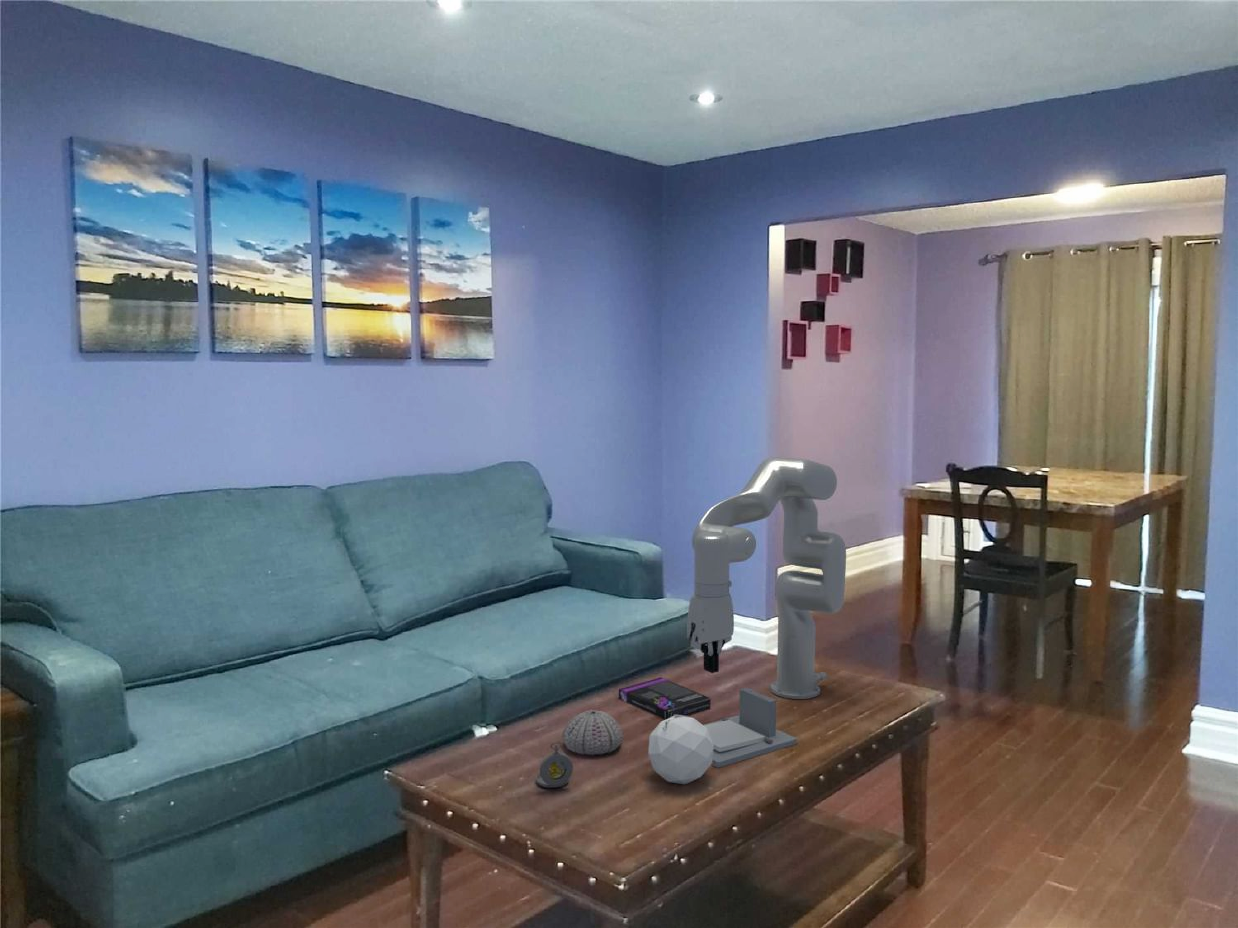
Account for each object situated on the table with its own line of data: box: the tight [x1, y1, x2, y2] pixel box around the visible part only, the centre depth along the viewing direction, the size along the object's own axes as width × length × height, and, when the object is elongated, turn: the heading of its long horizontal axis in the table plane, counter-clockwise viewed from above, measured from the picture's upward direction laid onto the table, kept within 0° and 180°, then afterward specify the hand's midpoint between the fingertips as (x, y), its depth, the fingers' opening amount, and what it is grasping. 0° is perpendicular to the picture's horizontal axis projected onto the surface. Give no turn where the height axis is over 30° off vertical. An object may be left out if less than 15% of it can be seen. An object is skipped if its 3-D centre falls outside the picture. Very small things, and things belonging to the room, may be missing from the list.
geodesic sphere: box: [647, 714, 714, 785], centre depth 193 cm, size 14×14×14 cm
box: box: [618, 676, 711, 720], centre depth 238 cm, size 14×4×20 cm
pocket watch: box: [535, 741, 574, 789], centre depth 191 cm, size 8×8×10 cm
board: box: [702, 687, 798, 769], centre depth 213 cm, size 23×18×9 cm
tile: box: [703, 720, 765, 752], centre depth 213 cm, size 13×12×1 cm
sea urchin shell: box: [561, 709, 624, 756], centre depth 211 cm, size 13×14×8 cm
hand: (711, 670), depth 209 cm, fingers closed
